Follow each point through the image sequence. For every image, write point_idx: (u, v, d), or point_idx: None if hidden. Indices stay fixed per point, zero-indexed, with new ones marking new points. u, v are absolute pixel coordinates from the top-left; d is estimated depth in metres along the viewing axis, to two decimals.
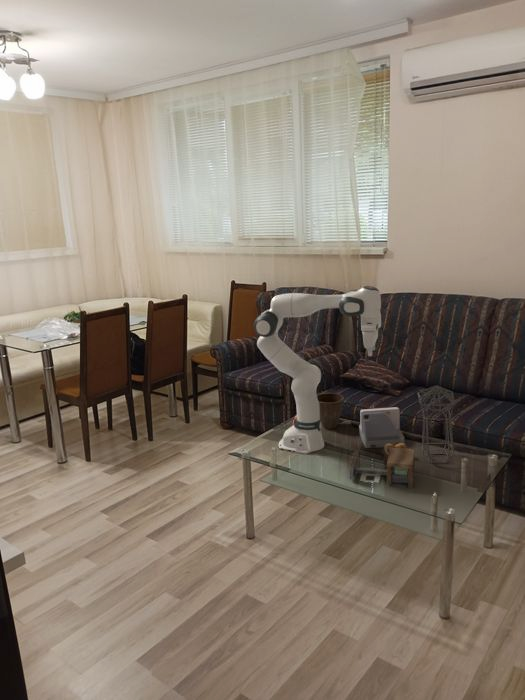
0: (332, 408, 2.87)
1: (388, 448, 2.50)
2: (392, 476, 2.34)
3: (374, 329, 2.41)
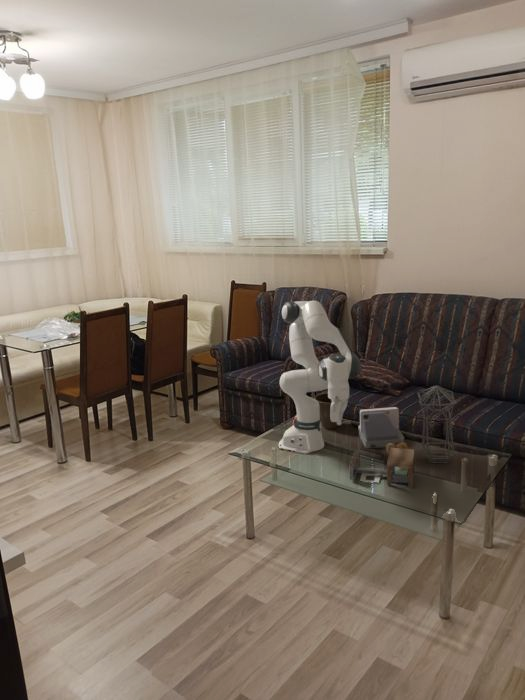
0: None
1: (390, 447, 2.50)
2: (392, 476, 2.34)
3: None
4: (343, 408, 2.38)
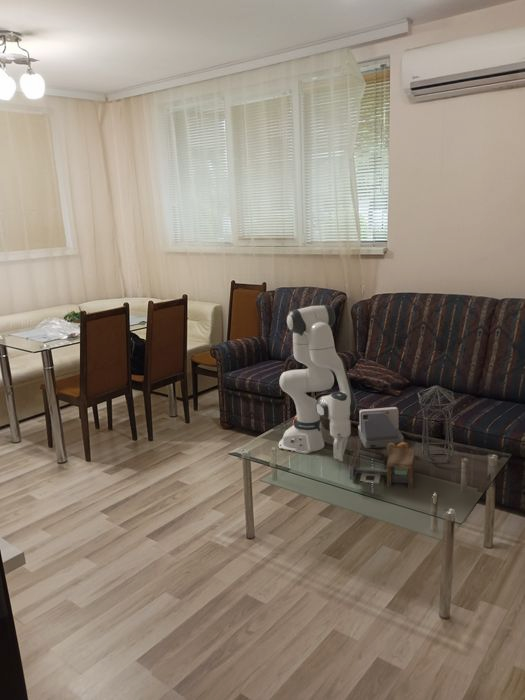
0: None
1: (390, 447, 2.50)
2: (392, 476, 2.34)
3: None
4: (345, 444, 2.42)
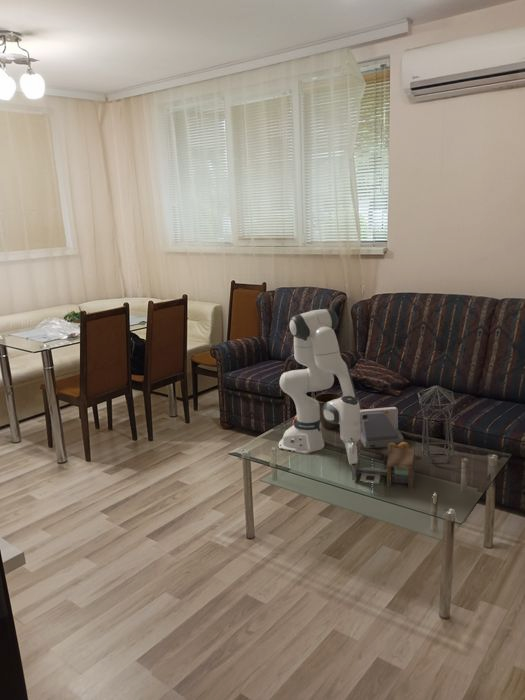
0: None
1: (391, 447, 2.50)
2: (394, 476, 2.34)
3: None
4: None
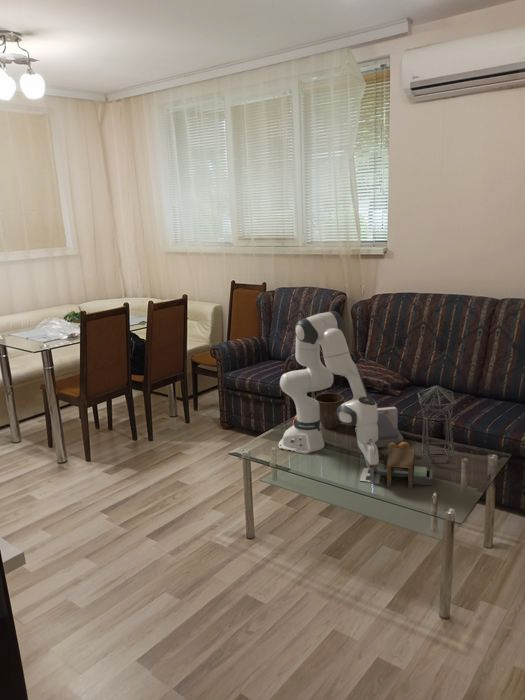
0: (332, 408, 2.87)
1: (392, 447, 2.50)
2: (413, 478, 2.32)
3: None
4: None
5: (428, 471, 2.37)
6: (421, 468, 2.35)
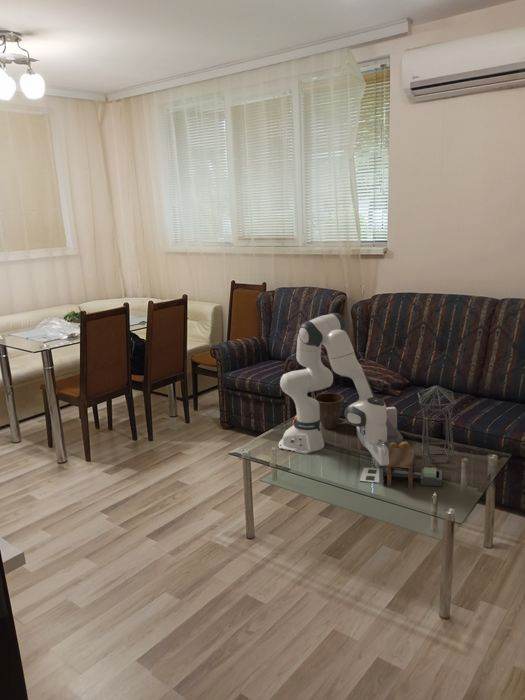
0: (332, 408, 2.86)
1: (392, 447, 2.51)
2: (423, 479, 2.31)
3: None
4: None
5: (437, 472, 2.35)
6: (430, 469, 2.34)
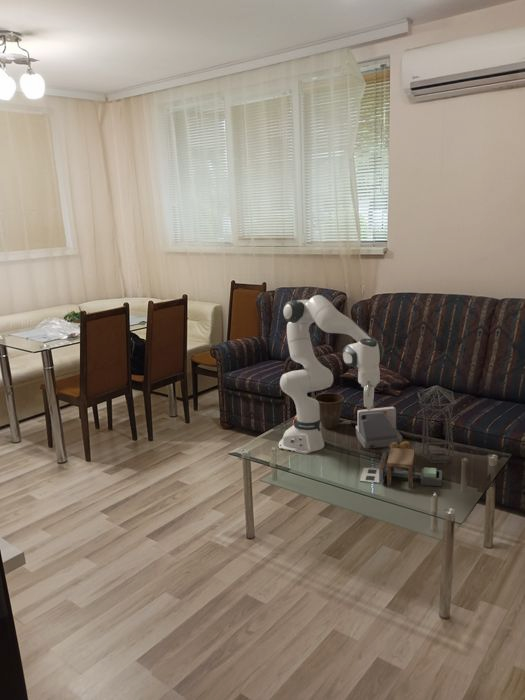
0: (332, 408, 2.86)
1: (393, 447, 2.51)
2: (423, 479, 2.31)
3: None
4: (373, 393, 2.35)
5: (437, 472, 2.35)
6: (430, 469, 2.34)
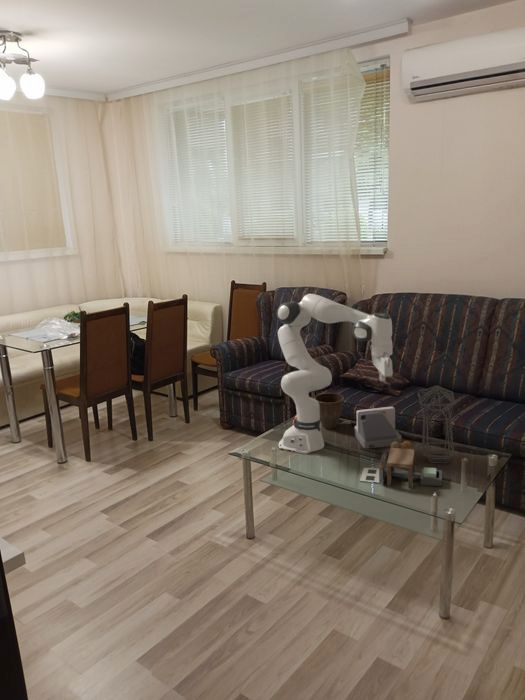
0: (332, 408, 2.87)
1: (394, 446, 2.51)
2: (423, 479, 2.31)
3: None
4: None
5: (437, 472, 2.35)
6: (430, 469, 2.34)
